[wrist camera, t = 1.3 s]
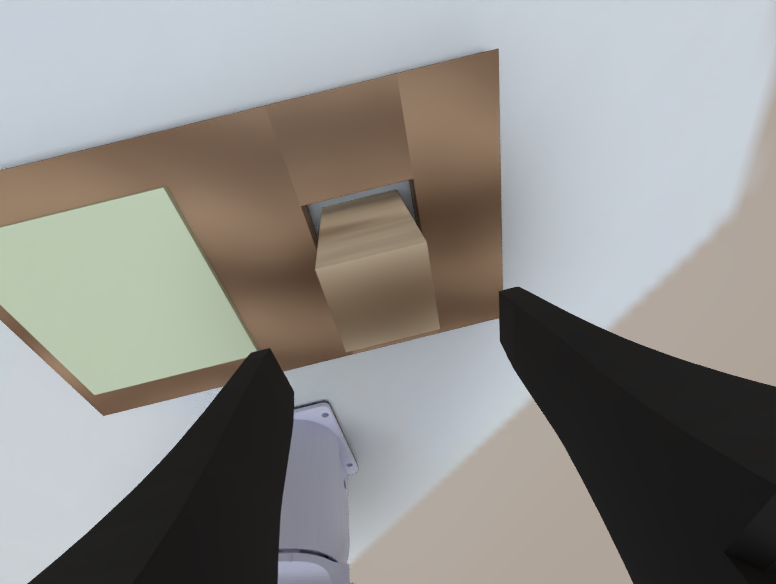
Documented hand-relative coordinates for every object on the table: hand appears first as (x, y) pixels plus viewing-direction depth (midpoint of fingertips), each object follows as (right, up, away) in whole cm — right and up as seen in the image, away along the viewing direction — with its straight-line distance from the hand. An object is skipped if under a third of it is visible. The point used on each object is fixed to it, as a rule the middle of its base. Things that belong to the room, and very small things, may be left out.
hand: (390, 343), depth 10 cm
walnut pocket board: (-7, +3, +8) cm, 11 cm away
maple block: (-1, +5, +8) cm, 10 cm away
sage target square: (-14, +1, +7) cm, 15 cm away
